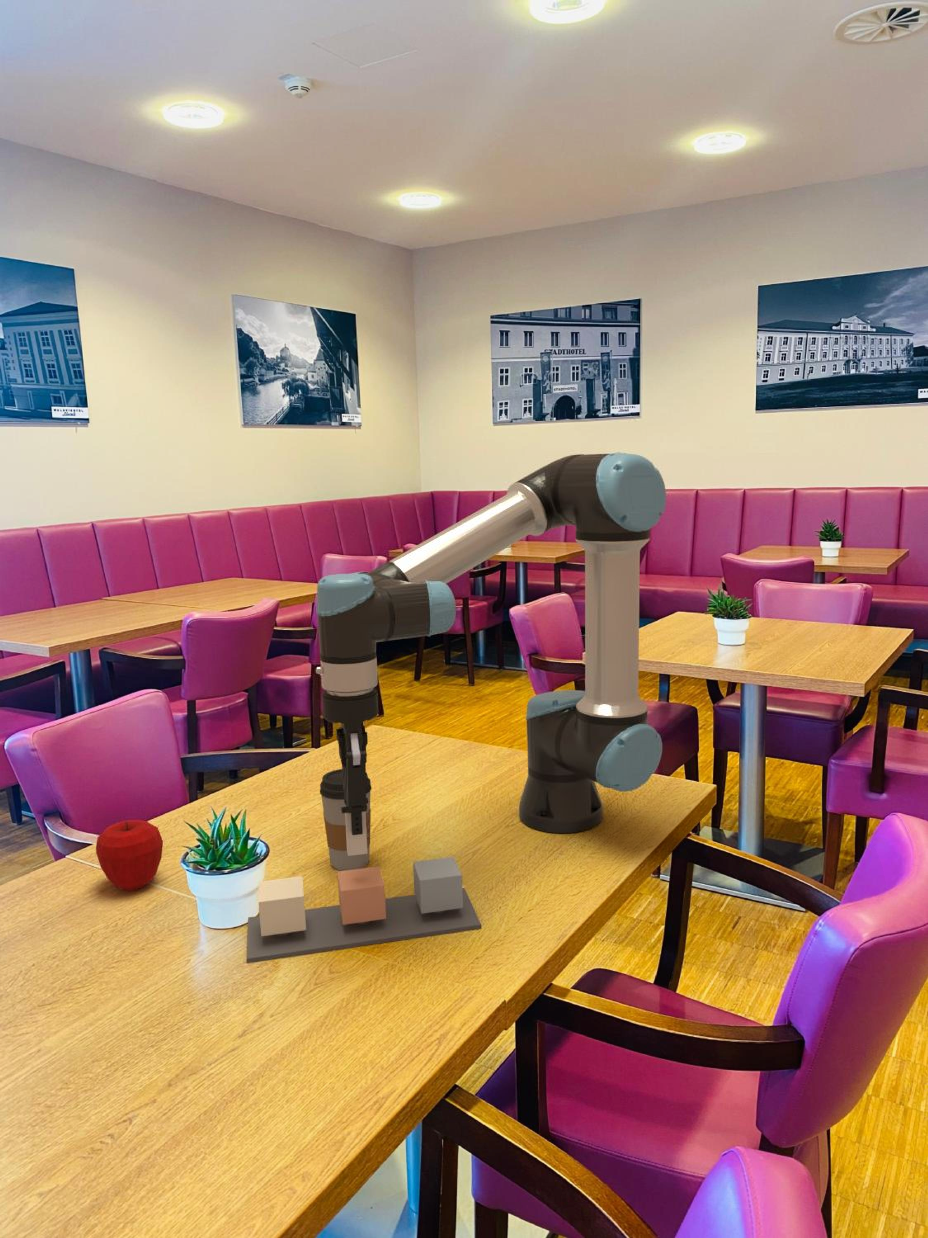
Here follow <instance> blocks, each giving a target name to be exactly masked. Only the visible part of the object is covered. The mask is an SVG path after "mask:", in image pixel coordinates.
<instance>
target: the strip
mask: <svg viewBox="0 0 928 1238" xmlns="http://www.w3.org/2000/svg"><path fill="white" fill-rule="evenodd" d="M462 890H463V908H458V909H451V910H444V911H437V912H430V913H423V914H421V911H420V908H419V905H418V902H417V899H416V896H415V894H409V895H403V896H394V897H388V898H386V897H385V907H386V919H380V920H373V921H366V922H359V923H352V924H345V925H343V923H342V917H341V911H340V904H337V905H329V906H321V907H314V908H305V920H306V930H303V931H296V932H289V933H282V934H274V935H267V936H261V927H260V915H257V916H255V915H254V916H250V917H248V918H247V936H246V937H247V940H246V941H247V942H246V944H247V945H246V963H247V964H250V963H253V962H262V961H263V962H264V961H269V960H276V959H282V958H288V957H289V958H290V957H296V956H303V955H309V954H316V953H323V952H329V951H336V950H344V949H349V948H357V947H363V946H370V945H377V944H383V943H391V942H398V941H405V940H411V939H417V938H418V939H419V938H424V937H432V936H438V935H447V934H452V933H458V932H459V933H460V932H465V931H471V930H479V929H482V923H481V921H480V918H479V917H478V914H477V913H476V910H475V908H474V906H473V904H472V901H471V899H470V896H469V895H468V893H467V891H466V888H465V887H462Z"/></svg>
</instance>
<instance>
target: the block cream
mask: <svg viewBox="0 0 928 1238" xmlns="http://www.w3.org/2000/svg"><path fill="white" fill-rule="evenodd" d="M303 882H304V881H303V876H300V875H299V876H294V877H293V876H291V877H286V878H277V879H268V880H262V881H258V911H259V912H258V913H259V916H260V927H261V936H267V935H274V934H282V933H289V932H296V931H303V930H306V920H305V910H306V908H305V907H306V906H305V896H304V884H303Z"/></svg>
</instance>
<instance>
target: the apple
mask: <svg viewBox="0 0 928 1238" xmlns="http://www.w3.org/2000/svg"><path fill="white" fill-rule="evenodd" d="M95 845H96V846H95V853H96V856H97V860H98V863H99V866H100V868H101V871H102V872H103V874H104V875H105V877H106V878H107V881H108V882H109V883H110V884H111V885H113V886H114V887H116V888H118V889H119V890H123V891H125V892H133V891H138V890H141V889H142V888H143V887H144V886H145V885H146V886H147V884H148V883H150V881H152V880H153V879H154V878H155V877H156V875H157V873H158V869H159V866H160V864H161V860H162V857H163V856H162V855H163V847H164V840H163V837H162V835H161V833H160V830H159V827H158V826H155V825H154V824H152V823H150V822H148V821H146V820H140V819H139V820H138V819H137V820H136V819H135V820H134V819H132V820H131V819H130V820H122V821H119V822H116V823H114V824H111V825H109V826H107V827H106V828H105V829H104V831H102V832H101V833H100V834H99V835H98V836H97V839H96V844H95Z"/></svg>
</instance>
